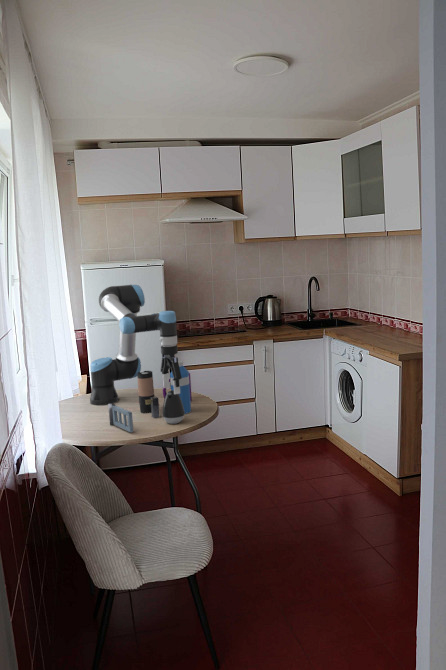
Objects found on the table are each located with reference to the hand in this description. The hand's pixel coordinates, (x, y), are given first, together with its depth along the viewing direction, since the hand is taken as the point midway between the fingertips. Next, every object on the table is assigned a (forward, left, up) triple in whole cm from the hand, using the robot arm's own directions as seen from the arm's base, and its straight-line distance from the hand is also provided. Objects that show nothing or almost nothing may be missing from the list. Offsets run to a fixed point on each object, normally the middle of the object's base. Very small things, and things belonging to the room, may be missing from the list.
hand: (171, 390), depth 260 cm
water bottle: (-15, +10, -15) cm, 23 cm away
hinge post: (-14, -25, -15) cm, 32 cm away
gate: (-3, -23, -14) cm, 27 cm away
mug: (-33, +15, -15) cm, 39 cm away
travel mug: (-26, -4, -15) cm, 30 cm away
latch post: (-14, -5, -15) cm, 21 cm away
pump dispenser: (0, 0, -15) cm, 15 cm away
